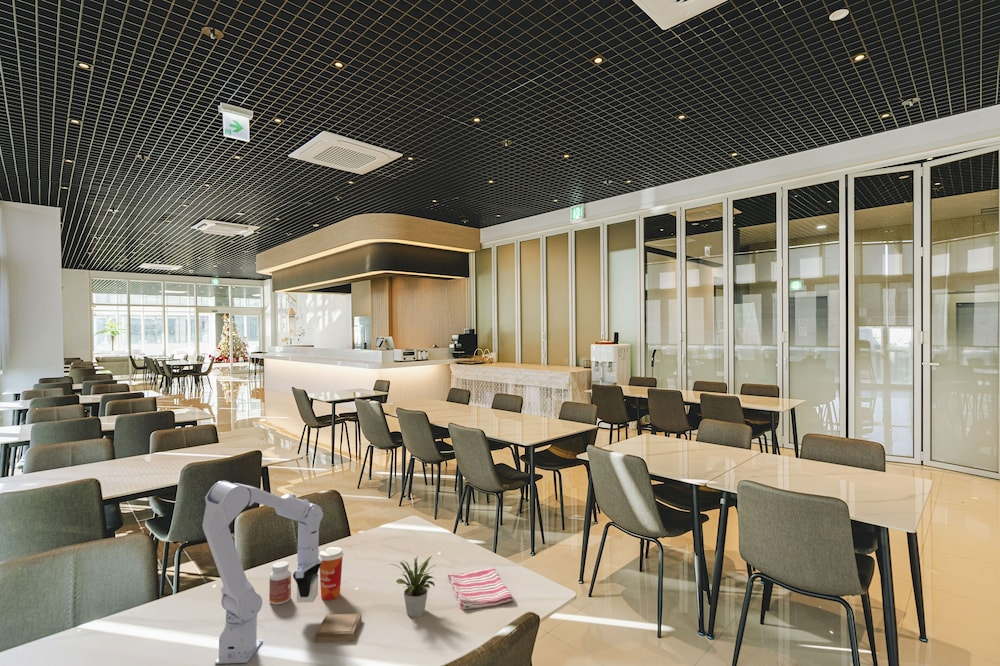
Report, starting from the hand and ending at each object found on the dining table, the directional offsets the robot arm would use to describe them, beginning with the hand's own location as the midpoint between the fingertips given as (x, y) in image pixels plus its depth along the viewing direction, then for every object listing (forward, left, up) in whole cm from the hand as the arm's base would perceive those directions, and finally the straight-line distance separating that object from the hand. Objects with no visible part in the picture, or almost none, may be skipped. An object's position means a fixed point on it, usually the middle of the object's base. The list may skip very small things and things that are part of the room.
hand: (307, 592), depth 146 cm
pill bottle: (+11, +12, -8) cm, 18 cm away
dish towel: (+15, -50, -8) cm, 53 cm away
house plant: (+1, -30, -8) cm, 31 cm away
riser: (-7, -11, -8) cm, 15 cm away
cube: (0, 0, -2) cm, 2 cm away
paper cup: (+13, -3, -8) cm, 16 cm away
